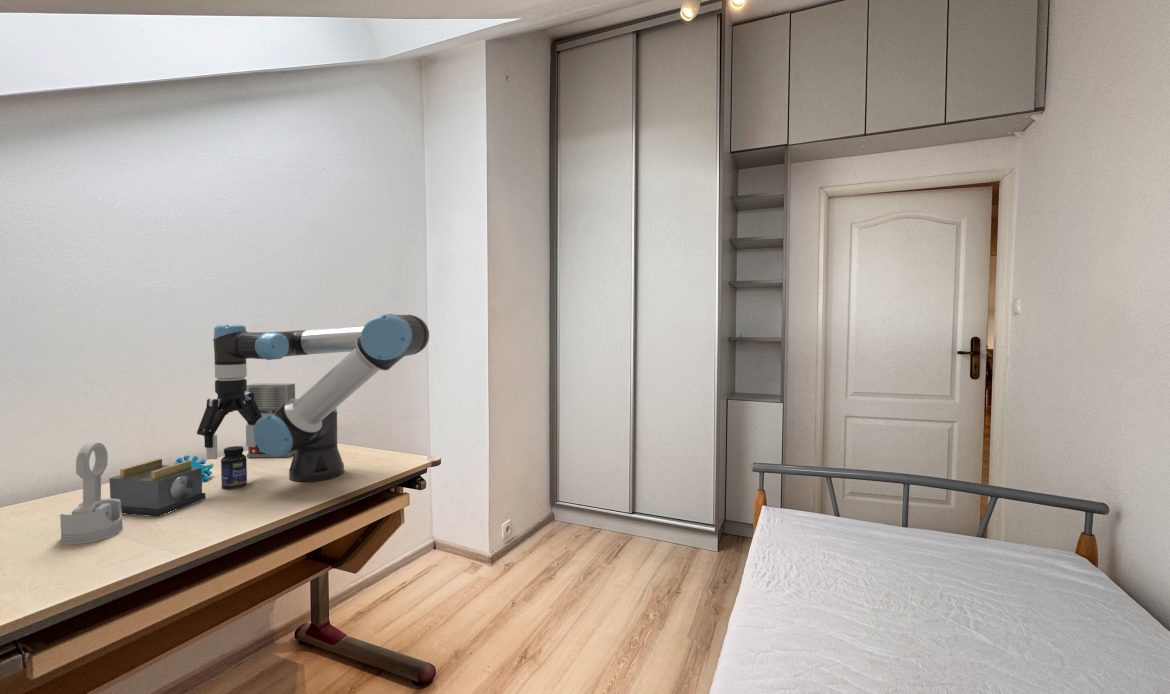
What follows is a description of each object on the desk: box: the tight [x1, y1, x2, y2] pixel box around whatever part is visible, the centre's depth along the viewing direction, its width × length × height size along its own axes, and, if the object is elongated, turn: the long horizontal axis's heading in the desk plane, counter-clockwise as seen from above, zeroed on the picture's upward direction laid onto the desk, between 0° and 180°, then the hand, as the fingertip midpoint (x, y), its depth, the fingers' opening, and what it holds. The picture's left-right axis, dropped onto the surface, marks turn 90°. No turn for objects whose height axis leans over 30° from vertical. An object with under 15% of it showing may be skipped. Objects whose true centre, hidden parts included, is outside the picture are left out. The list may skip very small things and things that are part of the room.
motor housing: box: [108, 458, 207, 517], centre depth 135 cm, size 15×13×10 cm
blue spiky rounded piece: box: [173, 455, 215, 482], centre depth 154 cm, size 11×6×10 cm
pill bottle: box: [220, 445, 248, 490], centre depth 150 cm, size 6×6×11 cm
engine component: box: [59, 442, 124, 545], centre depth 117 cm, size 11×20×10 cm
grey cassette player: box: [246, 382, 296, 458], centre depth 182 cm, size 14×6×25 cm, turn 95°
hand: (232, 452), depth 150 cm, fingers open, 13 cm apart
